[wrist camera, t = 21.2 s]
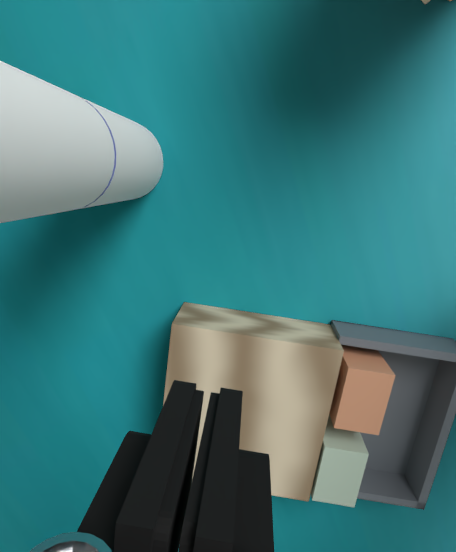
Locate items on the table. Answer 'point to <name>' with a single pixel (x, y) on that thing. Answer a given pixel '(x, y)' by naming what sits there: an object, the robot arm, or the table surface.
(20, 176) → the cylindrical container
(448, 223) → the table surface
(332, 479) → the pale green block
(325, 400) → the striped wooden block
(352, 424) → the salmon rectangular block
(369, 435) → the box
